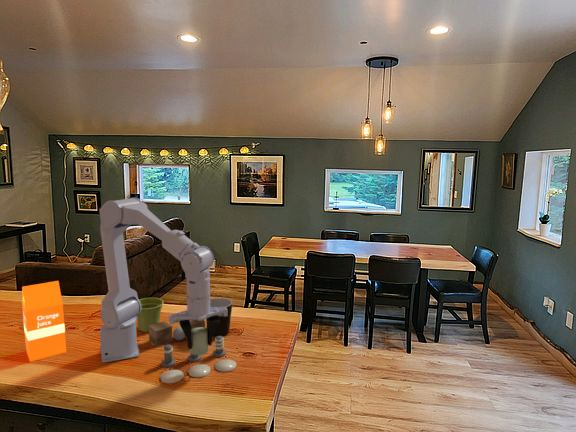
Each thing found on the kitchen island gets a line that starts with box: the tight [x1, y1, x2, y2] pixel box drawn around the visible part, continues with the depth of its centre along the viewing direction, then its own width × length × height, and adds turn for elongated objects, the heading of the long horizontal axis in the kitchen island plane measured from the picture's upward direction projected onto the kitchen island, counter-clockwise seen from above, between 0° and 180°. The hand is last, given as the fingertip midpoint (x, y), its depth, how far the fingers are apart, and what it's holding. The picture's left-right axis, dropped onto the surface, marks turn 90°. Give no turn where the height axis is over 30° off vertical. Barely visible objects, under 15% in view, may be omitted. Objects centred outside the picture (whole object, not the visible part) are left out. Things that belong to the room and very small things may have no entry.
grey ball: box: [172, 326, 186, 341], centre depth 120 cm, size 4×4×4 cm
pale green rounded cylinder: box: [190, 327, 209, 356], centre depth 102 cm, size 4×4×6 cm
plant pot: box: [136, 297, 164, 333], centre depth 126 cm, size 9×9×9 cm
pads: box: [159, 358, 237, 384], centre depth 103 cm, size 20×6×1 cm, turn 114°
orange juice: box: [21, 280, 67, 363], centre depth 110 cm, size 8×9×20 cm
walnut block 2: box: [190, 320, 206, 330], centre depth 123 cm, size 5×5×5 cm
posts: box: [161, 336, 227, 368], centre depth 109 cm, size 18×4×5 cm, turn 114°
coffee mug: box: [210, 297, 233, 338], centre depth 126 cm, size 12×9×10 cm
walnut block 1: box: [148, 320, 173, 348], centre depth 118 cm, size 5×5×5 cm
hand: (199, 345), depth 101 cm, fingers closed on pale green rounded cylinder, 4 cm apart
